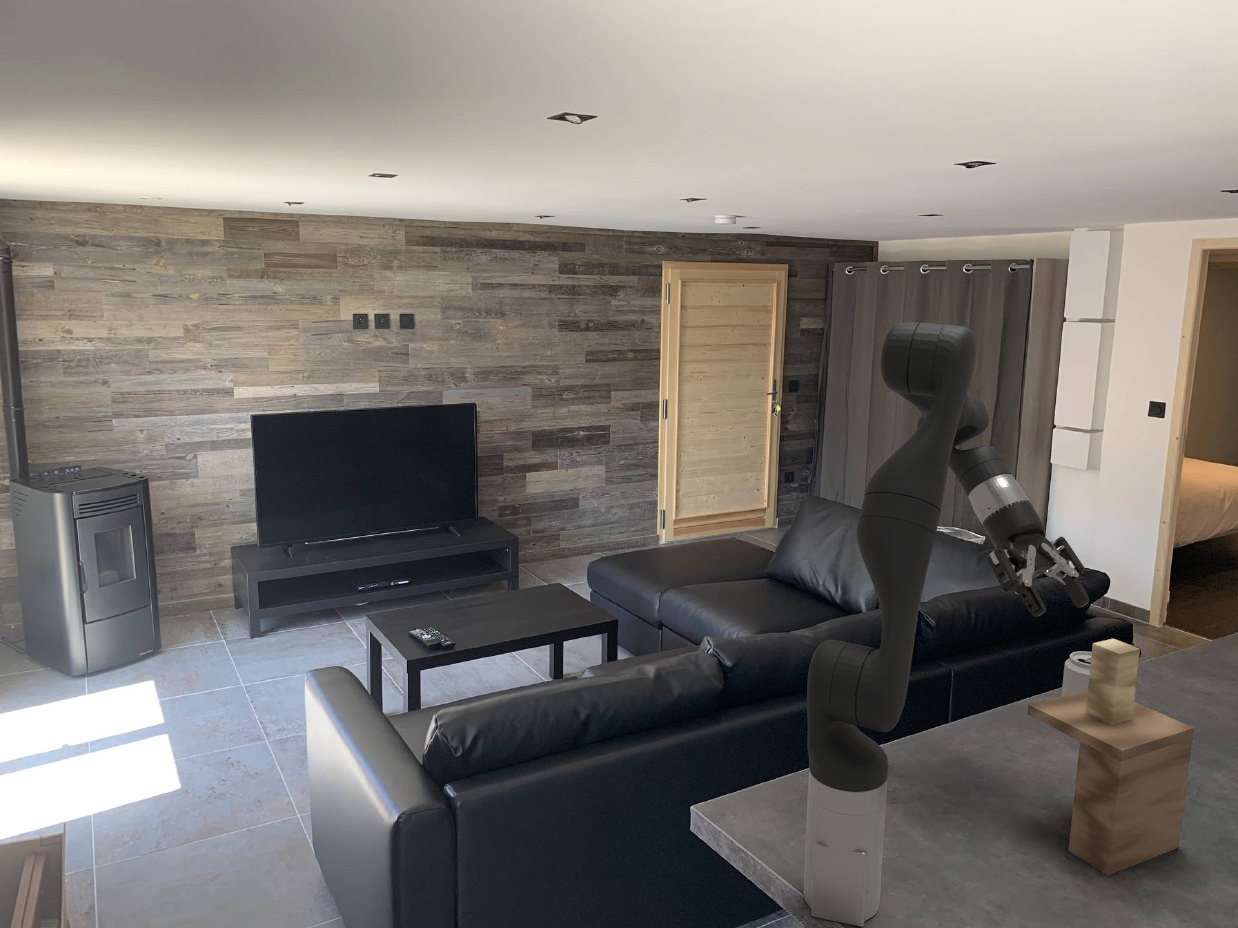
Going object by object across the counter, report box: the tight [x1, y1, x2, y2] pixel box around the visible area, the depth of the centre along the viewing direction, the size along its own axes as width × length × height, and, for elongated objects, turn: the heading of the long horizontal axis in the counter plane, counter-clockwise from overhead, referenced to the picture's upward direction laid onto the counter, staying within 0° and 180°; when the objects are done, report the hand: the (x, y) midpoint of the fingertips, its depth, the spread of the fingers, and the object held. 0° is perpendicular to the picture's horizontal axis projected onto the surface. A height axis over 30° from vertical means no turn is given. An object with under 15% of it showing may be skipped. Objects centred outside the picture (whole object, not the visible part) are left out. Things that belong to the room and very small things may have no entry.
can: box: [1061, 650, 1092, 696], centre depth 166 cm, size 8×8×12 cm
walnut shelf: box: [1027, 689, 1195, 876], centre depth 133 cm, size 14×14×18 cm
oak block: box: [1086, 638, 1141, 725], centre depth 130 cm, size 4×4×10 cm
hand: (1062, 609), depth 136 cm, fingers open, 8 cm apart
